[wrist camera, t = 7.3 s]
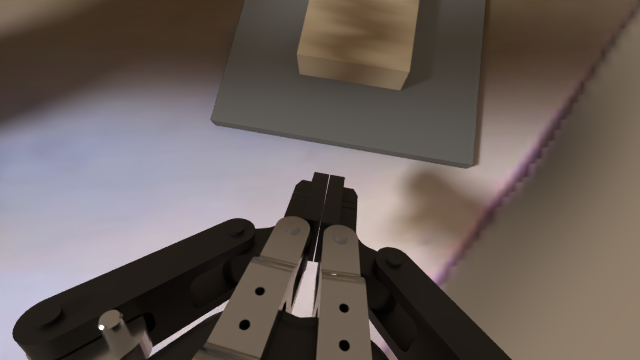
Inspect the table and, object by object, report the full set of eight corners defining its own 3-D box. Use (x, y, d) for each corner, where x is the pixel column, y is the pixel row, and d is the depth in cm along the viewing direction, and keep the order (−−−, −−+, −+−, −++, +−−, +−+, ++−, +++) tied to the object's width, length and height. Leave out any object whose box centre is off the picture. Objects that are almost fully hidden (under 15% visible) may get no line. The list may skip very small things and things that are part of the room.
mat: (215, 125, 23) (210, 119, 22) (283, -117, 28) (281, -130, 27) (466, 168, 22) (472, 165, 21) (487, -91, 27) (493, -103, 26)
